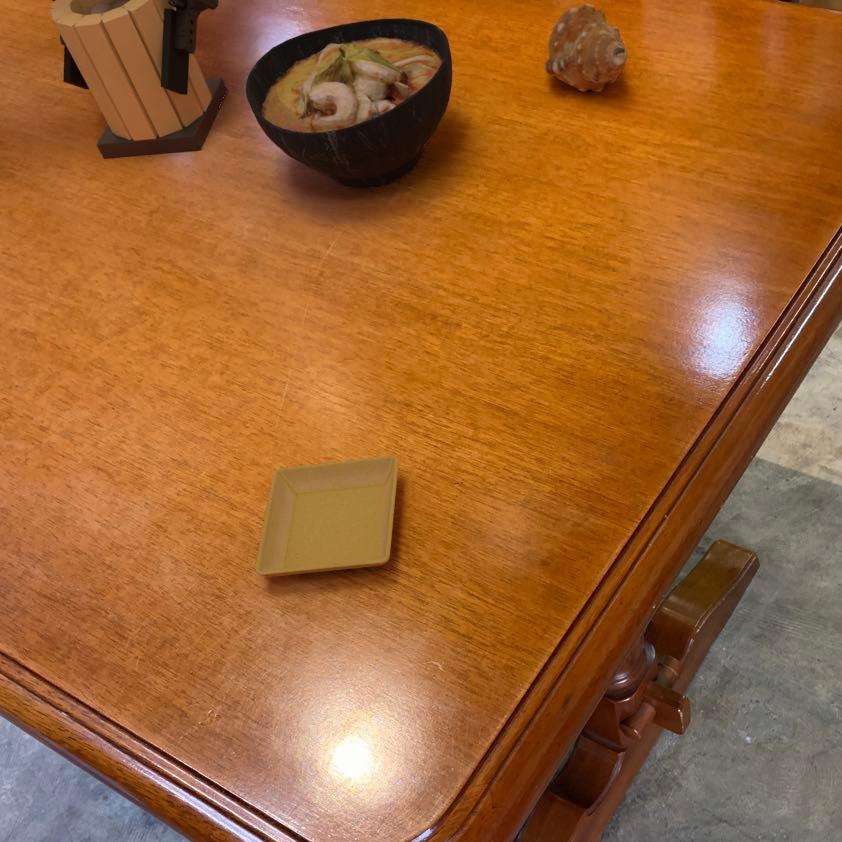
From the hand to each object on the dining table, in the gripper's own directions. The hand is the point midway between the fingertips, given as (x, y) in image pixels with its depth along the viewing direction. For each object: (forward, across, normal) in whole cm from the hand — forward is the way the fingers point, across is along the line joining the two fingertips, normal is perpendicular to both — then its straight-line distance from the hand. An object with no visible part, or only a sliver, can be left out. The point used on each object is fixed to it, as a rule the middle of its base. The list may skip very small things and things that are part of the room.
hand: (125, 88), depth 95 cm
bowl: (+4, -24, -4) cm, 25 cm away
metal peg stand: (+2, 0, -6) cm, 6 cm away
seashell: (-6, -40, -14) cm, 43 cm away
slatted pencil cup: (+1, 0, -5) cm, 5 cm away
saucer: (+32, -39, +23) cm, 55 cm away
